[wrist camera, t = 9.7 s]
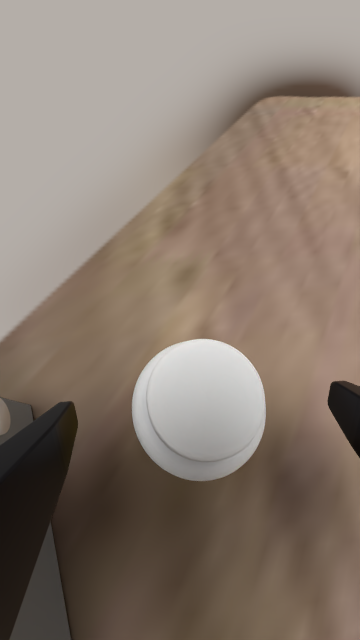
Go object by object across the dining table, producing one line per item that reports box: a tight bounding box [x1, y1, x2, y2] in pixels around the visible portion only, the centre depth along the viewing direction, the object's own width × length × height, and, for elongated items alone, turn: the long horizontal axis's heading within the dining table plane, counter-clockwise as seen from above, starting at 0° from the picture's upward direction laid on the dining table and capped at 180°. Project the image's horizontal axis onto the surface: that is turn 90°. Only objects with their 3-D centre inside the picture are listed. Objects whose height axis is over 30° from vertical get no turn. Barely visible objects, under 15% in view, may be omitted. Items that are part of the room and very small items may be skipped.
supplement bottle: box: [132, 339, 266, 481], centre depth 13 cm, size 6×6×10 cm
